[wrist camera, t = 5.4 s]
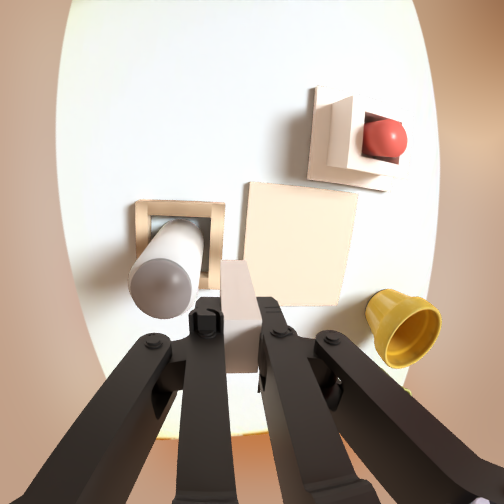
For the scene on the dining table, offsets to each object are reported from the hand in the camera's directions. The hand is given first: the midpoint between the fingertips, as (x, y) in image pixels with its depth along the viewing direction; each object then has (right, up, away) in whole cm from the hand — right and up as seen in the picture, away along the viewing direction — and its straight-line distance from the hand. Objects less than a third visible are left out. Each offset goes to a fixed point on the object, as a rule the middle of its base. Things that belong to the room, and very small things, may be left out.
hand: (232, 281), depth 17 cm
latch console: (+14, +16, +16) cm, 27 cm away
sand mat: (+7, +2, +20) cm, 21 cm away
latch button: (+15, +15, +12) cm, 24 cm away
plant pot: (+22, -7, +25) cm, 34 cm away
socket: (-8, +3, +18) cm, 20 cm away
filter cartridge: (-8, +3, +18) cm, 20 cm away
